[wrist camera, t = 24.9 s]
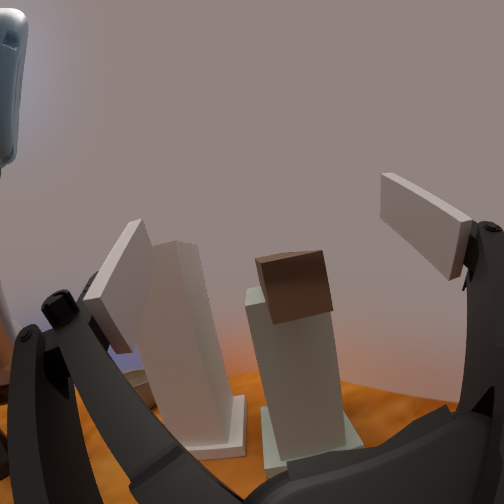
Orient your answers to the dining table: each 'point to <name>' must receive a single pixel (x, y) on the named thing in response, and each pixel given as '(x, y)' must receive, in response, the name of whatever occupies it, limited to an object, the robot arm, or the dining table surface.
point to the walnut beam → (294, 285)
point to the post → (298, 387)
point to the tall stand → (189, 359)
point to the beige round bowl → (140, 385)
